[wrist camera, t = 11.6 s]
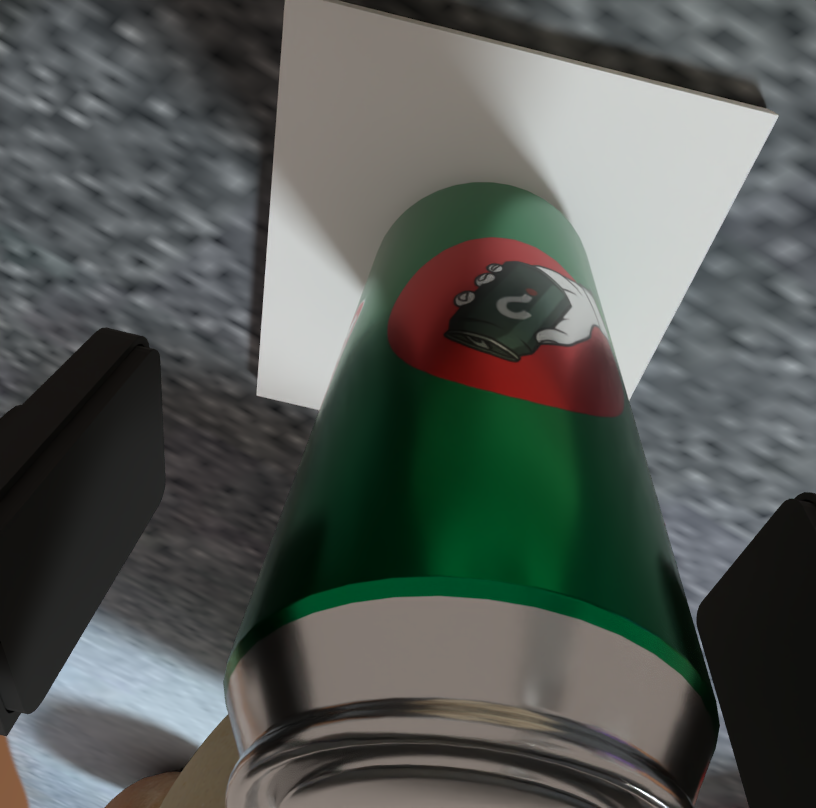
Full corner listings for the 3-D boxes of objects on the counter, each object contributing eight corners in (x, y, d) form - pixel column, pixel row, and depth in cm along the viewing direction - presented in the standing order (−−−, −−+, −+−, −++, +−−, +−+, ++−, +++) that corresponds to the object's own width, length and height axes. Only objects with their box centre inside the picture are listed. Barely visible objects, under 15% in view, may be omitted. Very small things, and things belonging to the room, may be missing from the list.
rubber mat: (293, -12, 13) (285, -10, 12) (768, 109, 13) (778, 115, 13) (262, 383, 19) (256, 395, 18) (588, 459, 19) (590, 472, 19)
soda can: (339, 223, 15) (60, 747, 5) (550, 135, 13) (699, 663, 4) (425, 389, 17) (342, 944, 8) (610, 332, 16) (791, 945, 6)
